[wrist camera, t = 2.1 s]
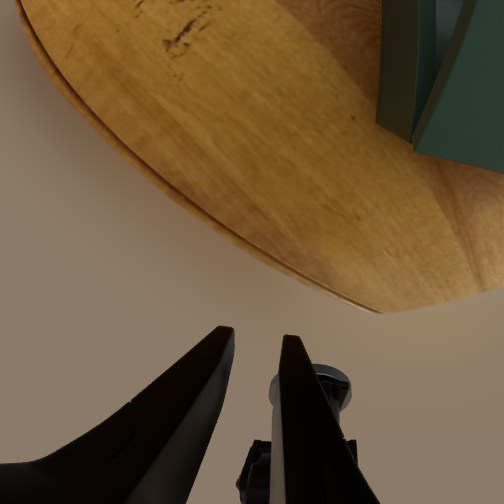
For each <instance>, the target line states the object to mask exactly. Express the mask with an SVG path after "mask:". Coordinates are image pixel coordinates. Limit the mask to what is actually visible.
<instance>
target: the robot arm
mask: <svg viewBox="0 0 504 504" xmlns="http://www.w3.org/2000/svg"><path fill="white" fill-rule="evenodd" d="M234 347H235V344H234V329H233V328H232V327H227V326H218V327H216V328H215V329H214V330H213V331H212V332H211V333H209V334H208V335H207V336H206V337H205V338H204V339H202V340H201V341H200V342H199V343H198V344H197V345H196V346H194V347H193V348H192V349H191V350H190V351H189V352H187V353H186V354H185V355H184V356H183V357H182V358H180V359H179V360H178V361H177V362H176V363H174V364H173V365H172V366H171V367H170V368H169V369H167V370H166V371H165V372H164V373H163V374H161V375H160V376H159V377H158V378H157V379H156V380H154V381H153V382H152V383H151V384H150V385H148V386H147V387H146V388H145V389H144V390H142V391H141V392H140V393H139V394H138V395H137V396H135V397H134V398H133V399H132V400H131V403H130V402H128V403H126V404H125V405H124V406H123V407H122V408H121V409H119V410H118V411H117V412H115V413H114V414H113V415H111V416H110V417H109V418H107V419H106V420H105V421H103V422H102V423H100V424H99V425H97V426H96V427H94V428H93V429H91V430H90V431H88V432H87V433H85V434H84V435H82V436H80V437H78V438H77V439H75V440H74V441H72V442H70V443H69V444H67V445H65V446H64V447H62V448H60V449H58V450H57V451H55V452H54V453H51V454H50V455H48V456H46V457H43V458H41V459H38V460H35V461H30V462H23V463H4V464H0V504H186V502H187V499H188V497H189V494H190V492H191V489H192V486H193V484H194V481H195V478H196V476H197V473H198V470H199V468H200V465H201V463H202V460H203V457H204V455H205V452H206V449H207V447H208V444H209V442H210V439H211V436H212V433H213V431H214V428H215V426H216V423H217V420H218V417H219V415H220V412H221V409H222V406H223V402H224V399H225V394H226V390H227V385H228V380H229V376H230V371H231V366H232V362H233V357H234ZM349 388H350V384H349V382H347V381H336V380H323V379H318V376H317V374H316V372H315V370H314V367H313V365H312V363H311V361H310V358H309V356H308V354H307V352H306V350H305V347H304V345H303V343H302V341H301V339H300V337H299V336H295V335H287V334H286V335H284V336H283V342H282V349H281V356H280V363H279V370H278V377H277V384H276V390H275V397H274V404H273V413H272V442H271V441H270V442H269V441H261V440H254V442H253V445H252V447H250V450H249V453H248V456H247V458H246V461H245V464H244V467H243V470H242V472H241V475H240V476H239V478H238V480H237V481H236V487H237V488H238V490H239V492H240V501H241V504H380V502H379V501H378V499H377V498H376V496H375V494H374V493H373V491H372V490H371V488H370V486H369V485H368V483H367V481H366V480H365V478H364V476H363V474H362V473H361V471H360V469H359V467H358V460H357V444H356V440H350V441H346V439H343V438H344V435H343V433H342V430H341V428H340V426H339V411H340V409H341V407H342V405H343V402H344V400H345V398H346V395H347V393H348V391H349Z"/></svg>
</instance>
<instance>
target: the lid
mask: <svg viewBox="0 0 504 504" xmlns="http://www.w3.org/2000/svg"><path fill="white" fill-rule="evenodd" d="M412 143H413V148H414V152H415V153H420V154H424V155H429V156H434V157H438V158H443V159H447V160H452V161H456V162H460V163H464V164H468V165H472V166H476V167H479V168H483V169H487V170H490V171H494V172H497V173H501V174H504V0H463V4H462V7H461V10H460V13H459V17H458V20H457V23H456V26H455V29H454V32H453V35H452V37H451V40H450V43H449V46H448V49H447V52H446V54H445V57H444V60H443V62H442V65H441V68H440V70H439V73H438V75H437V78H436V81H435V83H434V86H433V88H432V91H431V93H430V95H429V98H428V100H427V103H426V105H425V107H424V110H423V112H422V114H421V117H420V119H419V121H418V124H417V126H416V128H415V130H414V133H413V135H412Z"/></svg>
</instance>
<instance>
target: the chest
mask: <svg viewBox="0 0 504 504" xmlns="http://www.w3.org/2000/svg"><path fill="white" fill-rule="evenodd" d="M462 4H463V0H382V40H381V63H380V79H379V92H378V104H377V115H376V124H378V125H380V126H381V127H383V128H385V129H387V130H389V131H390V132H392V133H394V134H396V135H397V136H399V137H401V138H403V139H404V140H406V141H408V142H409V143H412V135H413V133H414V130H415V128H416V126H417V124H418V121H419V119H420V117H421V114H422V112H423V110H424V107H425V105H426V103H427V100H428V98H429V95H430V93H431V91H432V88H433V86H434V83H435V81H436V78H437V75H438V73H439V70H440V68H441V65H442V62H443V60H444V57H445V54H446V52H447V49H448V46H449V43H450V40H451V37H452V35H453V32H454V29H455V26H456V23H457V20H458V17H459V13H460V10H461V7H462Z"/></svg>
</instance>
